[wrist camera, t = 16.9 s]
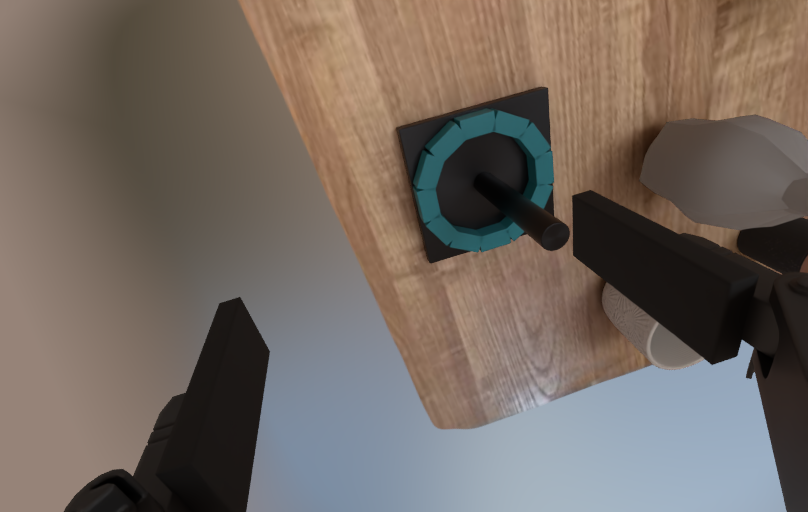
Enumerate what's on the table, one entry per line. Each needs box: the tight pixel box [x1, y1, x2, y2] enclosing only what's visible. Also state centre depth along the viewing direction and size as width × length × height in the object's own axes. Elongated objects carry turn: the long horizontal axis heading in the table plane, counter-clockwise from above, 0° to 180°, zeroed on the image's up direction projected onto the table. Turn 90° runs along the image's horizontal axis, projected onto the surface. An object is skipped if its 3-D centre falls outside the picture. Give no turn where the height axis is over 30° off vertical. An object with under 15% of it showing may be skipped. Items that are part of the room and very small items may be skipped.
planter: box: [602, 282, 704, 370], centre depth 52 cm, size 12×12×11 cm
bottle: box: [639, 115, 808, 230], centre depth 34 cm, size 11×11×30 cm
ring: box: [413, 108, 554, 252], centre depth 42 cm, size 15×15×2 cm
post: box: [396, 87, 570, 263], centre depth 37 cm, size 16×16×16 cm
